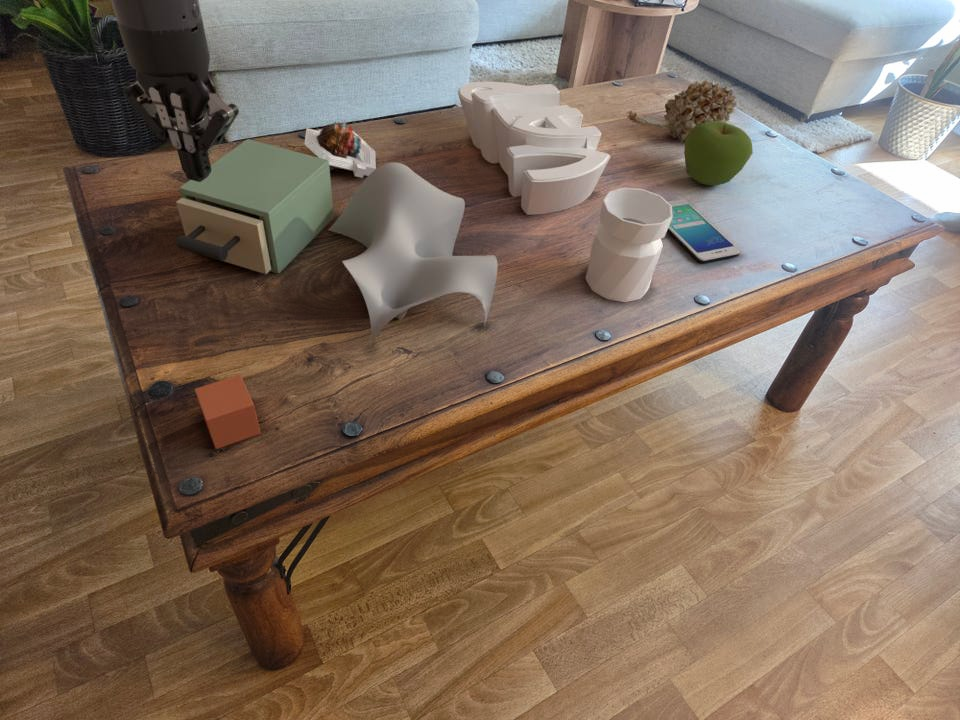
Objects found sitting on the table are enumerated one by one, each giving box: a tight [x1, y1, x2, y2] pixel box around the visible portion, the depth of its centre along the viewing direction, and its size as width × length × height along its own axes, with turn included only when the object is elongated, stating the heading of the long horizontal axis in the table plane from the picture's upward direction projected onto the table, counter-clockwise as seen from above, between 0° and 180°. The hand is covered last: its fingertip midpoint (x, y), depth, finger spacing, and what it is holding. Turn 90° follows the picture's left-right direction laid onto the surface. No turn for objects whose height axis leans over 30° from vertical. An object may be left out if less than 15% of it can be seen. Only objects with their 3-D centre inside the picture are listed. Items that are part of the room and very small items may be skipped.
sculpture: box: [327, 161, 499, 348], centre depth 84 cm, size 25×19×10 cm
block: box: [194, 374, 261, 450], centre depth 66 cm, size 4×4×4 cm
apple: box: [683, 121, 754, 187], centre depth 108 cm, size 11×10×10 cm
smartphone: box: [666, 198, 741, 264], centre depth 100 cm, size 8×1×15 cm
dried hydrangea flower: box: [625, 80, 737, 142], centre depth 119 cm, size 22×10×10 cm, turn 115°
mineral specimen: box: [304, 121, 377, 179], centre depth 104 cm, size 12×12×7 cm
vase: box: [585, 187, 673, 303], centre depth 85 cm, size 9×9×12 cm
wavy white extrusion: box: [457, 81, 612, 216], centre depth 106 cm, size 35×16×11 cm, turn 18°
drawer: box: [175, 197, 271, 275], centre depth 85 cm, size 18×11×7 cm, turn 160°
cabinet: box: [179, 138, 335, 275], centre depth 88 cm, size 15×13×9 cm
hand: (199, 177), depth 75 cm, fingers closed
